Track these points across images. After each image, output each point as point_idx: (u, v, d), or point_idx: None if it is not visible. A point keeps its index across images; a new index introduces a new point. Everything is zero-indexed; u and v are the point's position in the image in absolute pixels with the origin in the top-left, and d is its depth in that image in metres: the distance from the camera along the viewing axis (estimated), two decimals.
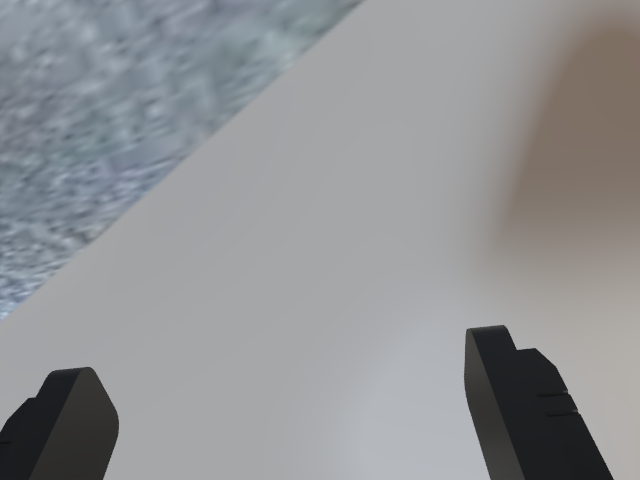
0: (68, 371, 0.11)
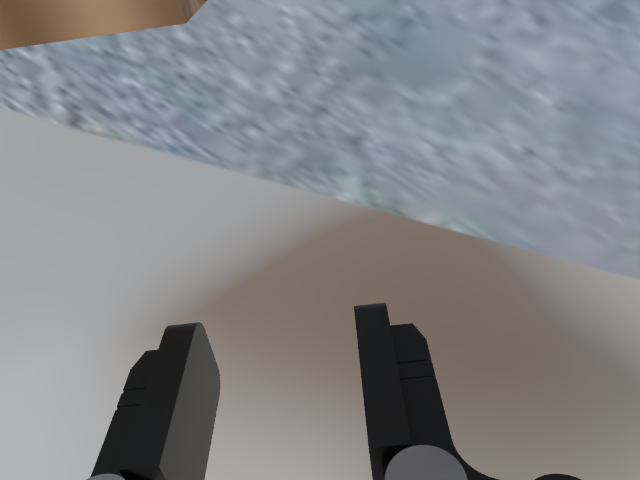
0: (183, 325, 0.11)
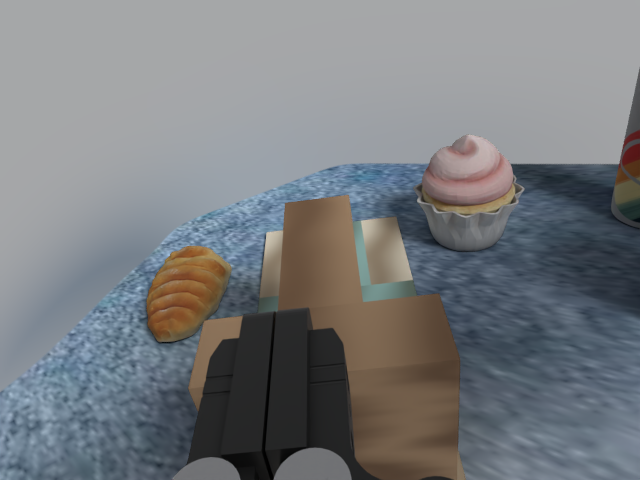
0: (260, 314, 0.11)
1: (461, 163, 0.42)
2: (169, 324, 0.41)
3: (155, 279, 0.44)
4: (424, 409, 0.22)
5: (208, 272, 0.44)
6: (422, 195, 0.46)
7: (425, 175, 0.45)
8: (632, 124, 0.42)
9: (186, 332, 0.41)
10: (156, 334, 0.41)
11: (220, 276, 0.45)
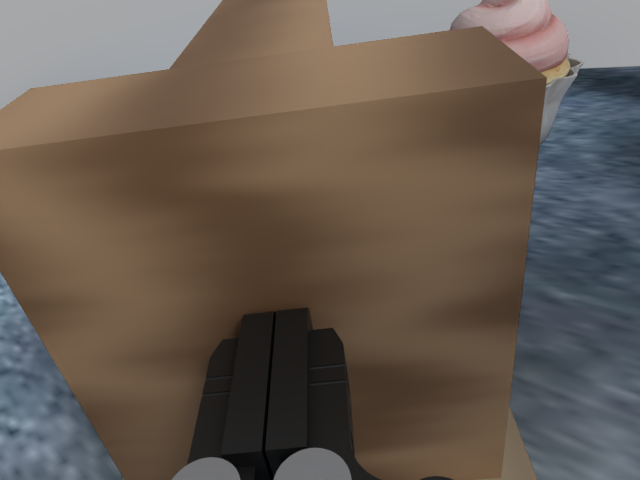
0: (260, 314, 0.11)
1: (497, 16, 0.30)
2: None
3: None
4: (458, 230, 0.11)
5: None
6: None
7: None
8: None
9: None
10: None
11: None
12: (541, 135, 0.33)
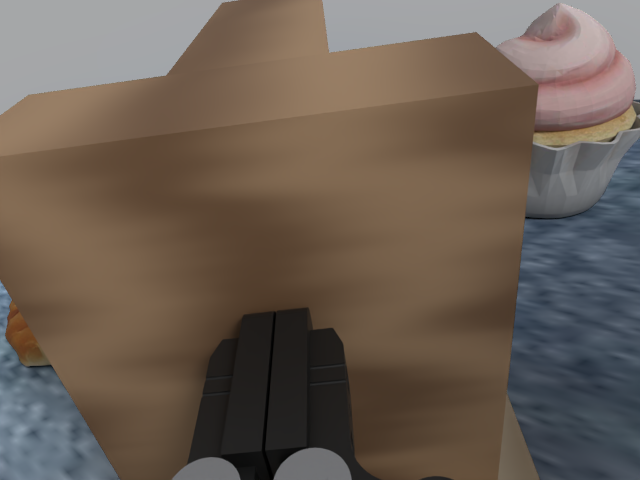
0: (260, 314, 0.11)
1: (548, 53, 0.23)
2: None
3: None
4: (452, 235, 0.11)
5: None
6: None
7: None
8: None
9: None
10: (18, 352, 0.22)
11: None
12: (597, 196, 0.27)
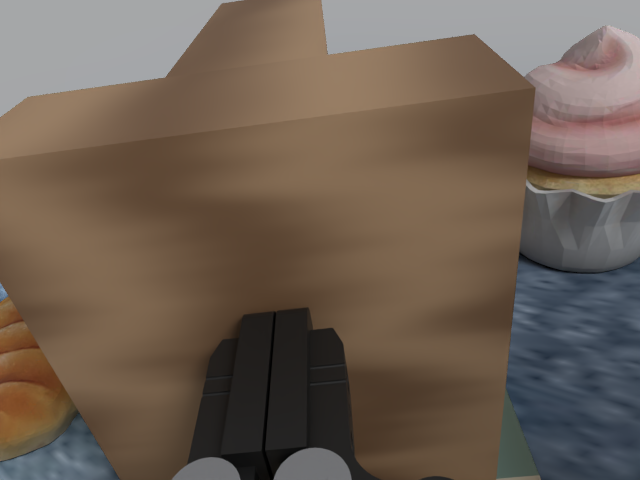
0: (260, 314, 0.11)
1: (594, 85, 0.20)
2: None
3: None
4: (450, 237, 0.11)
5: None
6: None
7: None
8: None
9: (33, 439, 0.19)
10: None
11: None
12: None
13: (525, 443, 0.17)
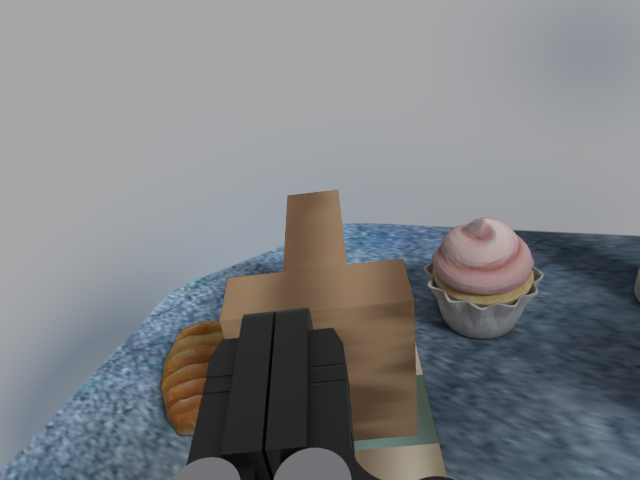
0: (260, 314, 0.11)
1: (476, 250, 0.39)
2: (193, 416, 0.37)
3: (170, 362, 0.41)
4: (390, 340, 0.31)
5: None
6: (433, 278, 0.42)
7: (437, 258, 0.42)
8: None
9: None
10: (178, 427, 0.38)
11: None
12: (512, 326, 0.42)
13: (435, 429, 0.36)
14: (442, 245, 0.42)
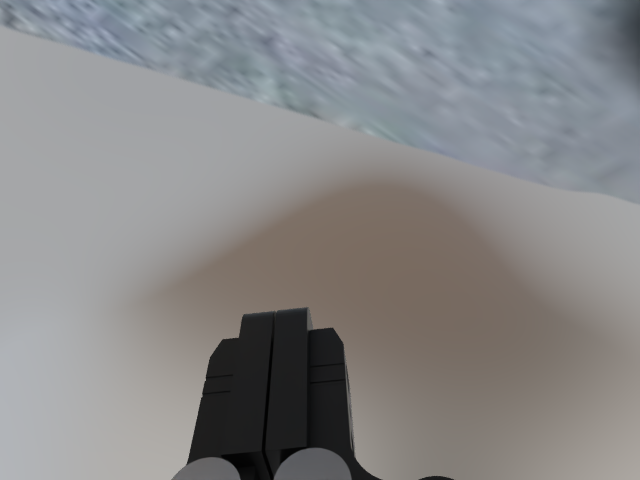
0: (260, 314, 0.11)
1: None
2: None
3: None
4: None
5: None
6: None
7: None
8: None
9: None
10: None
11: None
12: None
13: None
14: None
